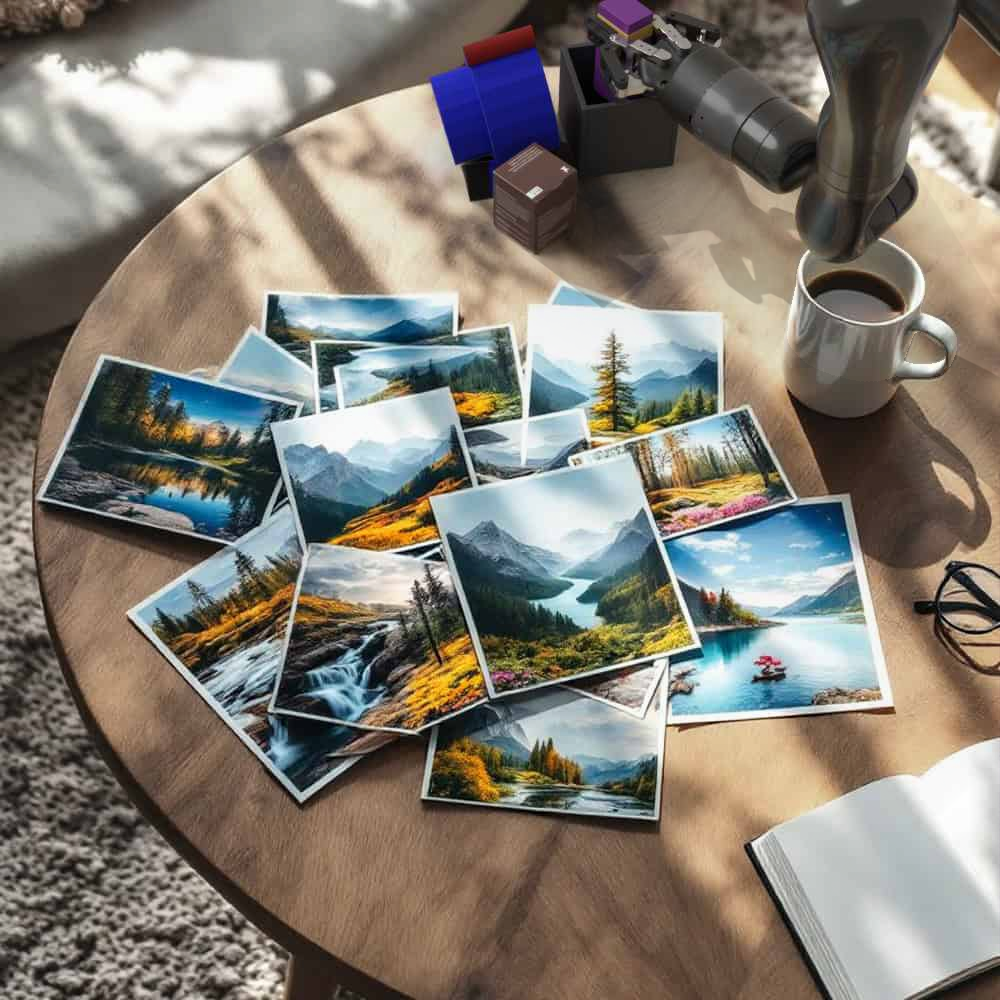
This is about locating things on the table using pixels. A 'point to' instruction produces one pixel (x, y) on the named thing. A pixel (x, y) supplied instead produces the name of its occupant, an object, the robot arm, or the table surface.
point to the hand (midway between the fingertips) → (605, 16)
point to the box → (534, 197)
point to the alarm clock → (495, 106)
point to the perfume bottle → (623, 32)
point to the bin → (609, 122)
